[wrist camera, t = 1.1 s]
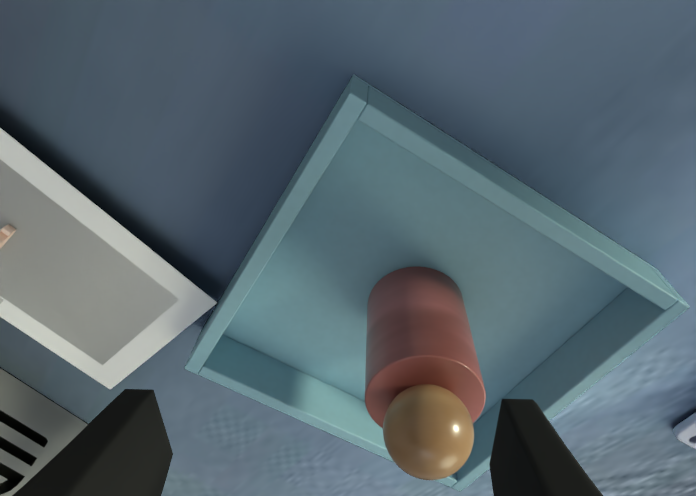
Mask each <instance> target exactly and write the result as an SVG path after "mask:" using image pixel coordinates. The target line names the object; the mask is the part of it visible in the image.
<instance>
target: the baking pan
mask: <svg viewBox="0 0 696 496" xmlns="http://www.w3.org/2000/svg"><path fill="white" fill-rule="evenodd" d="M416 266H420V267H428V268H432V269H435V270H438V271H440V272H442V273H444V274H446V275H447V276H449V277H450V278H451V279H452V280H453V281H454V282H455V283H456V284H457V286H458V287H459V289H460V291H461V293H462V297H463V301H464V305H465V309H466V313H467V317H468V321H469V326H470V330H471V334H472V338H473V342H474V346H475V350H476V354H477V358H478V363H479V367H480V371H481V375H482V379H483V383H484V387H485V391H486V400H485V405H484V408H483V410H482V412H481V414H480V416H479V417H478V418H477V420H476V421H475V422H474V423H473V427H474V443H473V447H472V451H471V453H470V456H469V458H468V459H467V461H466V462H465V464H464V465H463V466H462V467H461V468H460V469H459V470H458V471H457V472H455V473H454V474H452V475H450V476H448V477H446V478H443V479H438V480H435V481H437V482H439V483H441V484H444V485H446V486H448V487H451V488H453V489H455V490H457V491H459V492H461V491H462V490H463V489H465V488H466V487H467V486H468V485H470V484H471V483H472V482H473V481H475V480H476V479H477V478H478V477H480V476H481V475H482V474H483V473H485V472H486V471H487V470H488V469H489V468H490V465H489V464H490V458H491V453H492V448H493V443H494V437H495V432H496V427H497V422H498V416H499V411H500V406H501V400H502V399H533V400H534V401H535V402H536V403H537V404H538V406H539V407H540V409H541V410H542V412H543V413H544V415H545V416H546V418H547V419H548V421H549V420H550V419H552V418H553V417H554V416H555V415H557V414H558V413H559V412H560V411H562V410H563V409H564V408H565V407H567V406H568V405H569V404H570V403H572V402H573V401H574V400H575V399H577V398H578V397H579V396H580V395H582V394H583V393H584V392H585V391H587V390H588V389H589V388H590V387H591V386H593V385H594V384H595V383H596V382H598V381H599V380H600V379H601V378H603V377H604V376H605V375H606V374H608V373H609V372H610V371H611V370H613V369H614V368H615V367H616V366H618V365H619V364H620V363H621V362H623V361H624V360H625V359H626V358H628V357H629V356H630V355H631V354H633V353H634V352H635V351H636V350H637V349H639V348H640V347H641V346H642V345H644V344H645V343H646V342H647V341H649V340H650V339H651V338H652V337H654V336H655V335H656V334H657V333H659V332H660V331H661V330H662V329H664V328H665V327H666V326H667V325H669V324H670V323H671V322H672V321H674V320H675V319H676V318H677V317H679V316H680V315H681V314H682V313H684V312H685V311H686V310H687V309H688V308H689V305H688V304H687V303H686V302H685V301H684V300H683V298H682V297H681V296H680V295H679V294H678V293H677V292H676V290H675V289H674V288H673V287H672V286H671V285H670V284H669V282H668V281H667V280H666V279H665V278H664V277H663V276H662V274H661V273H660V272H659V271H658V270H657V269H656V268H654V267H653V266H651V265H650V264H648V263H647V262H645V261H644V260H642V259H640V258H639V257H637V256H636V255H634V254H633V253H631V252H630V251H628V250H626V249H625V248H623V247H622V246H620V245H619V244H617V243H616V242H614V241H612V240H611V239H609V238H608V237H606V236H605V235H603V234H602V233H600V232H598V231H597V230H595V229H594V228H592V227H591V226H589V225H588V224H586V223H584V222H583V221H581V220H580V219H578V218H577V217H575V216H574V215H572V214H570V213H569V212H567V211H566V210H564V209H563V208H561V207H560V206H558V205H556V204H555V203H553V202H552V201H550V200H549V199H547V198H546V197H544V196H542V195H541V194H539V193H538V192H536V191H535V190H533V189H532V188H530V187H528V186H527V185H525V184H524V183H522V182H521V181H519V180H518V179H516V178H514V177H513V176H511V175H510V174H508V173H507V172H505V171H504V170H502V169H500V168H499V167H497V166H496V165H494V164H493V163H491V162H490V161H488V160H486V159H485V158H483V157H482V156H480V155H479V154H477V153H476V152H474V151H472V150H471V149H469V148H468V147H466V146H465V145H463V144H462V143H460V142H458V141H457V140H455V139H454V138H452V137H451V136H449V135H447V134H446V133H444V132H443V131H441V130H440V129H438V128H437V127H435V126H433V125H432V124H430V123H429V122H427V121H426V120H424V119H423V118H421V117H419V116H418V115H416V114H415V113H413V112H412V111H410V110H409V109H407V108H405V107H404V106H402V105H401V104H399V103H398V102H396V101H395V100H393V99H391V98H390V97H388V96H387V95H385V94H384V93H382V92H381V91H379V90H377V89H376V88H374V87H373V86H371V85H370V84H368V83H367V82H365V81H363V80H362V79H360V78H359V77H357V76H356V75H353V76H352V78H351V79H350V81H349V83H348V84H347V86H346V88H345V90H344V91H343V93H342V95H341V96H340V98H339V100H338V101H337V103H336V105H335V106H334V108H333V110H332V111H331V113H330V115H329V116H328V118H327V120H326V122H325V123H324V125H323V127H322V128H321V130H320V132H319V133H318V135H317V137H316V138H315V140H314V142H313V143H312V145H311V147H310V149H309V150H308V152H307V154H306V155H305V157H304V159H303V160H302V162H301V164H300V165H299V167H298V169H297V170H296V172H295V174H294V175H293V177H292V179H291V181H290V182H289V184H288V186H287V187H286V189H285V191H284V192H283V194H282V196H281V197H280V199H279V201H278V202H277V204H276V206H275V208H274V209H273V211H272V213H271V214H270V216H269V218H268V219H267V221H266V223H265V224H264V226H263V228H262V229H261V231H260V233H259V234H258V236H257V238H256V240H255V241H254V243H253V245H252V246H251V248H250V250H249V251H248V253H247V255H246V256H245V258H244V260H243V261H242V263H241V265H240V267H239V268H238V270H237V272H236V273H235V275H234V277H233V278H232V280H231V282H230V283H229V285H228V287H227V288H226V290H225V292H224V293H223V295H222V297H221V299H220V300H219V302H218V304H217V305H216V307H215V309H214V310H213V312H212V314H211V315H210V317H209V319H208V320H207V322H206V324H205V325H204V327H203V329H202V331H201V333H200V335H199V337H198V339H197V342H196V344H195V346H194V348H193V350H192V352H191V354H190V357H189V359H188V361H187V363H186V365H185V367H184V369H186V370H188V371H190V372H192V373H195V374H198V375H200V376H202V377H204V378H206V379H209V380H211V381H213V382H215V383H217V384H220V385H222V386H224V387H226V388H229V389H231V390H233V391H235V392H238V393H240V394H242V395H244V396H247V397H249V398H251V399H253V400H256V401H258V402H260V403H262V404H265V405H267V406H269V407H271V408H273V409H276V410H278V411H280V412H282V413H285V414H287V415H289V416H291V417H294V418H296V419H298V420H300V421H303V422H305V423H307V424H309V425H312V426H314V427H316V428H318V429H320V430H323V431H325V432H327V433H329V434H332V435H334V436H336V437H338V438H341V439H343V440H345V441H347V442H350V443H352V444H354V445H356V446H359V447H361V448H363V449H365V450H367V451H370V452H372V453H374V454H376V455H379V456H381V457H383V458H385V459H388V460H390V461H392V462H394V461H393V459H392V458H391V456H390V455H389V453H388V451H387V448H386V446H385V442H384V438H383V428H381V427H380V426H379V425H378V424H377V423H376V422H375V421H374V420H373V419H372V418H371V416H370V415H369V413H368V411H367V408H366V405H365V368H366V335H367V304H368V298H369V295H370V293H371V291H372V289H373V287H374V286H375V285H376V283H377V282H378V281H379V280H380V279H382V278H383V277H384V276H386V275H387V274H389V273H391V272H393V271H395V270H398V269H401V268H406V267H416ZM394 463H395V462H394Z"/></svg>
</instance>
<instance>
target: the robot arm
mask: <svg viewBox="0 0 696 496" xmlns="http://www.w3.org/2000/svg"><path fill="white" fill-rule="evenodd" d="M673 433H674V435H675V437H676V438H677V439H678V440H679V441H681V442H683V443H685V444H686V445H688V446H690V447H692V448H694V449H696V412H695V413H694V414H692V415H691V416H689V417H688V418H686V419H685V420H684V421H682V422H681V423H679V424H678V425H676V426H675V427H674V429H673ZM172 455H173V453H172V449H171V446H170V443H169V440H168V436H167V433H166V430H165V426H164V423H163V420H162V417H161V413H160V410H159V407H158V403H157V400H156V397H155V394H154V390H139V389H125V390H124V391H123V392H122V393H121V394H120V395H119V396H117V397H116V398H115V399H114V400H113V401H112V402H111V403H110V404H109V405H108V406H107V407H106V408H105V409H104V410H103V411H102V412H101V413H100V414H99V415H98V416H97V417H96V418H94V419H93V420H92V421H91V422H90V423H89V424H88V425H87V426H86V427H85V428H84V429H83V430H82V431H81V432H80V433H79V434H78V435H77V436H76V437H75V438H74V439H73V440H72V441H71V442H70V443H69V444H68V445H67V446H65V447H64V448H63V449H62V450H61V451H60V452H59V453H58V454H57V455H56V456H55V457H54V458H53V459H52V460H51V461H49V462H48V463H47V464H46V465H45V466H44V467H43V468H42V469H41V470H40V471H39V472H38V473H37V474H36V475H35V476H33V477H32V478H31V479H30V480H29V481H28V482H27V483H26V484H25V485H24V486H23V487H21V488H20V489H19V490H18V491H17V492H16V493H15V494H13V495H12V496H161V494H162V490H163V487H164V484H165V481H166V477H167V473H168V470H169V466H170V462H171V459H172ZM489 465H490V472H491V479H492V486H493V493H494V496H603V495H602V494H601V492H600V491H599V490H598V488H597V487H596V486H595V484H594V483H593V482H592V481H591V479H590V478H589V477H588V475H587V474H586V473H585V471H584V470H583V469H582V467H581V466H580V465H579V463H578V462H577V460H576V459H575V458H574V456H573V455H572V454H571V452H570V451H569V449H568V448H567V447H566V445H565V444H564V442H563V441H562V440H561V438H560V437H559V435H558V434H557V432H556V431H555V429H554V428H553V427H552V425H551V424H550V422H549V421H548V419H547V418H546V416H545V415H544V413H543V412H542V410H541V409H540V407H539V406H538V404H537V403H536V402H535V401H534V400H533V399H502V400H501V406H500V411H499V416H498V422H497V427H496V432H495V437H494V443H493V448H492V453H491V458H490V464H489Z"/></svg>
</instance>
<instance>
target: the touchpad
mask: <svg viewBox="0 0 696 496" xmlns="http://www.w3.org/2000/svg"><path fill="white" fill-rule="evenodd" d="M215 304H217V302H216V301H215V300H214V299H212V298H211V297H210V296H209V295H207V294H206V293H205V292H204V291H202V290H201V289H200V288H199V287H197V286H196V285H195V284H194V283H192V282H191V281H190V280H189V279H187V278H186V277H185V276H184V275H183V274H181V273H180V272H179V271H178V270H176V269H175V268H174V267H173V266H171V265H170V264H169V263H168V262H166V261H165V260H164V259H163V258H161V257H160V256H159V255H158V254H156V253H155V252H154V251H153V250H152V249H150V248H149V247H148V246H147V245H145V244H144V243H143V242H142V241H140V240H139V239H138V238H137V237H135V236H134V235H133V234H132V233H130V232H129V231H128V230H127V229H125V228H124V227H123V226H122V225H121V224H119V223H118V222H117V221H116V220H114V219H113V218H112V217H111V216H109V215H108V214H107V213H106V212H104V211H103V210H102V209H101V208H99V207H98V206H97V205H96V204H94V203H93V202H92V201H91V200H90V199H88V198H87V197H86V196H85V195H83V194H82V193H81V192H80V191H78V190H77V189H76V188H75V187H73V186H72V185H71V184H70V183H68V182H67V181H66V180H65V179H63V178H62V177H61V176H60V175H59V174H57V173H56V172H55V171H54V170H52V169H51V168H50V167H49V166H47V165H46V164H45V163H44V162H42V161H41V160H40V159H39V158H37V157H36V156H35V155H34V154H32V153H31V152H30V151H29V150H28V149H26V148H25V147H24V146H23V145H21V144H20V143H19V142H18V141H16V140H15V139H14V138H13V137H11V136H10V135H9V134H8V133H6V132H5V131H4V130H3V129H1V128H0V317H1V318H3V319H4V320H6V321H7V322H9V323H10V324H12V325H14V326H15V327H17V328H18V329H20V330H21V331H23V332H24V333H26V334H27V335H29V336H30V337H32V338H33V339H35V340H36V341H38V342H39V343H41V344H42V345H44V346H45V347H47V348H48V349H50V350H51V351H53V352H54V353H56V354H57V355H59V356H60V357H62V358H63V359H65V360H66V361H68V362H69V363H71V364H72V365H74V366H75V367H77V368H78V369H80V370H81V371H83V372H84V373H86V374H87V375H89V376H90V377H92V378H93V379H95V380H96V381H98V382H99V383H101V384H102V385H104V386H105V387H107V388H108V389H110V390H111V389H112V388H113V387H114V386H116V385H117V384H118V383H119V382H121V381H122V380H123V379H124V378H125V377H127V376H128V375H129V374H130V373H132V372H133V371H134V370H135V369H137V368H138V367H139V366H140V365H141V364H143V363H144V362H145V361H146V360H148V359H149V358H150V357H151V356H153V355H154V354H155V353H156V352H157V351H159V350H160V349H161V348H162V347H164V346H165V345H166V344H167V343H169V342H170V341H171V340H172V339H173V338H175V337H176V336H177V335H178V334H180V333H181V332H182V331H183V330H185V329H186V328H187V327H188V326H189V325H191V324H192V323H193V322H194V321H196V320H197V319H198V318H199V317H201V316H202V315H203V314H204V313H205V312H207V311H208V310H209V309H210V308H212V307H213V306H214V305H215Z"/></svg>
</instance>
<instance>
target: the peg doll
mask: <svg viewBox="0 0 696 496" xmlns="http://www.w3.org/2000/svg"><path fill="white" fill-rule="evenodd" d="M485 400H486V391H485V387H484V383H483V379H482V375H481V371H480V367H479V363H478V358H477V354H476V350H475V346H474V342H473V338H472V334H471V330H470V326H469V321H468V317H467V313H466V309H465V305H464V301H463V297H462V293H461V291H460V289H459V287H458V286H457V284H456V283H455V282H454V281H453V280H452V279H451V278H450V277H449V276H447V275H446V274H444V273H442V272H440V271H438V270H435V269H432V268H428V267H420V266H416V267H406V268H401V269H398V270H395V271H393V272H391V273H389V274H387V275H386V276H384V277H383V278H382V279H380V280H379V281H378V282H377V283H376V285H375V286H374V287H373V289H372V291H371V293H370V295H369V298H368V304H367V335H366V368H365V405H366V408H367V411H368V413H369V415H370V416H371V418H372V419H373V420H374V421H375V422H376V423H377V424H378V425H379V426H380V427H381V428H383V438H384V442H385V446H386V448H387V451H388V453H389V455H390V456H391V458H392V459H393V461H394V462H395V463H396V464H397V465H398V467H399V468H401V469H402V470H403V471H404V472H406V473H407V474H409V475H411V476H413V477H416V478H419V479H423V480H438V479H443V478H446V477H448V476H450V475H452V474H454V473H455V472H457V471H458V470H459V469H460V468H461V467H462V466H463V465H464V464H465V462H466V461H467V459H468V458H469V456H470V453H471V451H472V447H473V443H474V427H473V423H474V422H475V421H476V420H477V418H478V417H479V416H480V414H481V412H482V410H483V408H484V405H485Z"/></svg>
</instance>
